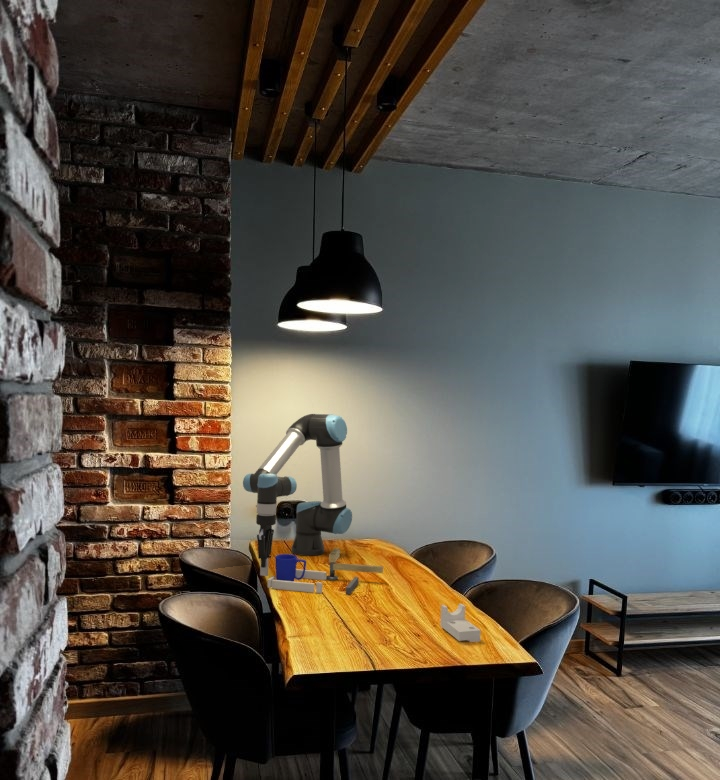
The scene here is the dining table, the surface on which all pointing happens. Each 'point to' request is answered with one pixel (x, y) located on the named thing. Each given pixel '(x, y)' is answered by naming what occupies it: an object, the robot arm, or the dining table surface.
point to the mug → (287, 567)
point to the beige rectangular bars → (299, 585)
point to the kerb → (352, 585)
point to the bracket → (459, 624)
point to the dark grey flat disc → (332, 578)
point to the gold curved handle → (349, 565)
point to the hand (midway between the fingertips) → (264, 575)
